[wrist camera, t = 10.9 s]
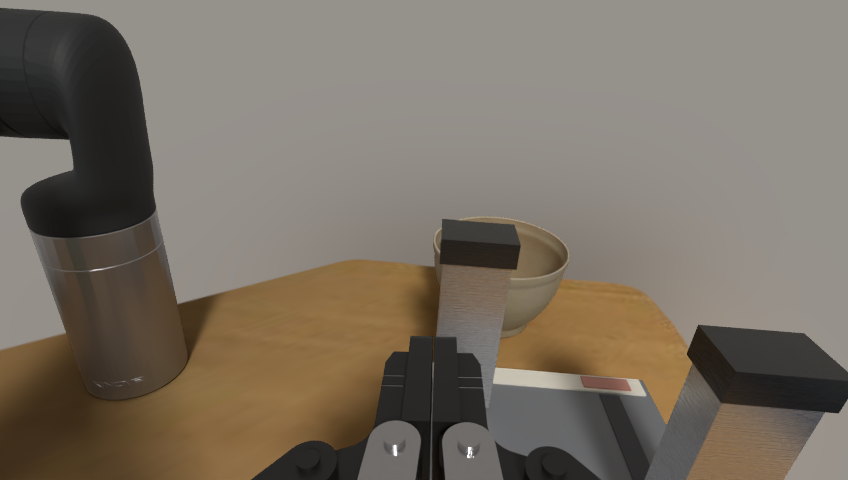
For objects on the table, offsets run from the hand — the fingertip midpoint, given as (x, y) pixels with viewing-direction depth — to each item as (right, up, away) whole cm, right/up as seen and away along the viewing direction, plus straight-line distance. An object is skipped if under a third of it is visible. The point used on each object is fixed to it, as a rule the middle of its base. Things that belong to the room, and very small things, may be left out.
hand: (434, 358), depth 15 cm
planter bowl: (+8, -6, +44) cm, 46 cm away
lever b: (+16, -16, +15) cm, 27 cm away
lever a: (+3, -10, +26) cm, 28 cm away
